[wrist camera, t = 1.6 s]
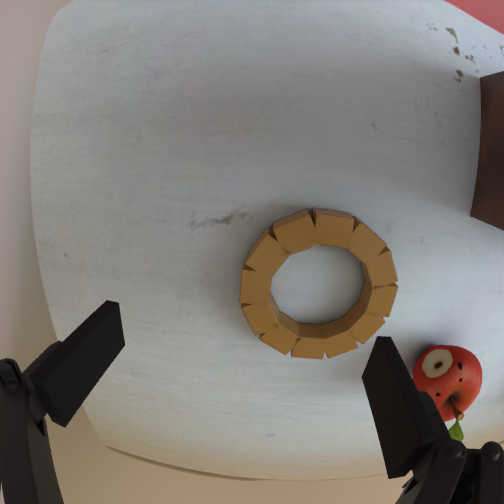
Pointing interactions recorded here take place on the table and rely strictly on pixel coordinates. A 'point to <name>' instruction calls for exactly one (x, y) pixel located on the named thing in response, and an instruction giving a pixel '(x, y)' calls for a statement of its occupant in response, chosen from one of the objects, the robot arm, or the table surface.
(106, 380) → the table surface
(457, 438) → the apple
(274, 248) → the ring
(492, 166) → the stand
